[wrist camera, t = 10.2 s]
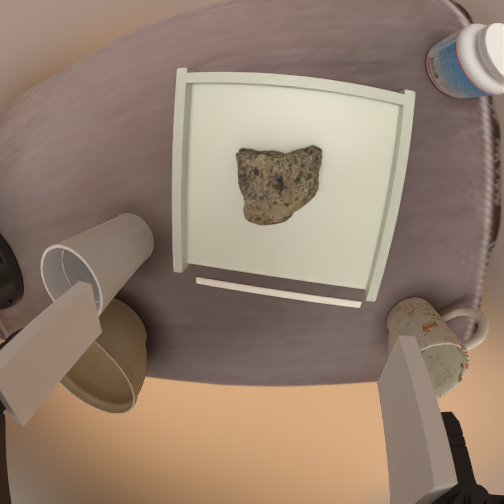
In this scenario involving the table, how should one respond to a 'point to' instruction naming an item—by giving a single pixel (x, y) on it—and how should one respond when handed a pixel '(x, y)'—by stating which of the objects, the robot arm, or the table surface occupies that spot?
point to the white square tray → (286, 140)
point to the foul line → (278, 292)
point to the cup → (98, 258)
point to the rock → (277, 182)
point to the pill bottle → (469, 62)
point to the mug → (436, 339)
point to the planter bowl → (111, 362)
